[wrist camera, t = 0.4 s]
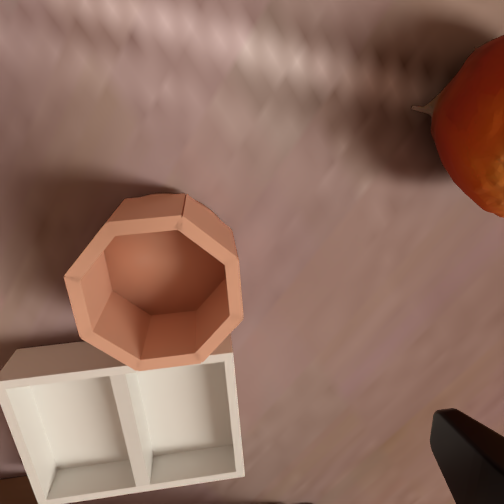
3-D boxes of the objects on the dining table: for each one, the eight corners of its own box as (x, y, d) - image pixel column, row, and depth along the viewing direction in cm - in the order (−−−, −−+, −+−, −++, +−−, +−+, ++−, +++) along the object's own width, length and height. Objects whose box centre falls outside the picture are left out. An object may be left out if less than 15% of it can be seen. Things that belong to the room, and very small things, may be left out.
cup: (238, 309, 23) (246, 357, 19) (111, 324, 22) (90, 377, 18) (227, 186, 20) (234, 210, 16) (83, 199, 20) (50, 227, 15)
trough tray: (240, 439, 26) (245, 476, 24) (56, 465, 25) (39, 507, 23) (229, 324, 23) (232, 352, 20) (16, 349, 22) (-8, 382, 19)
